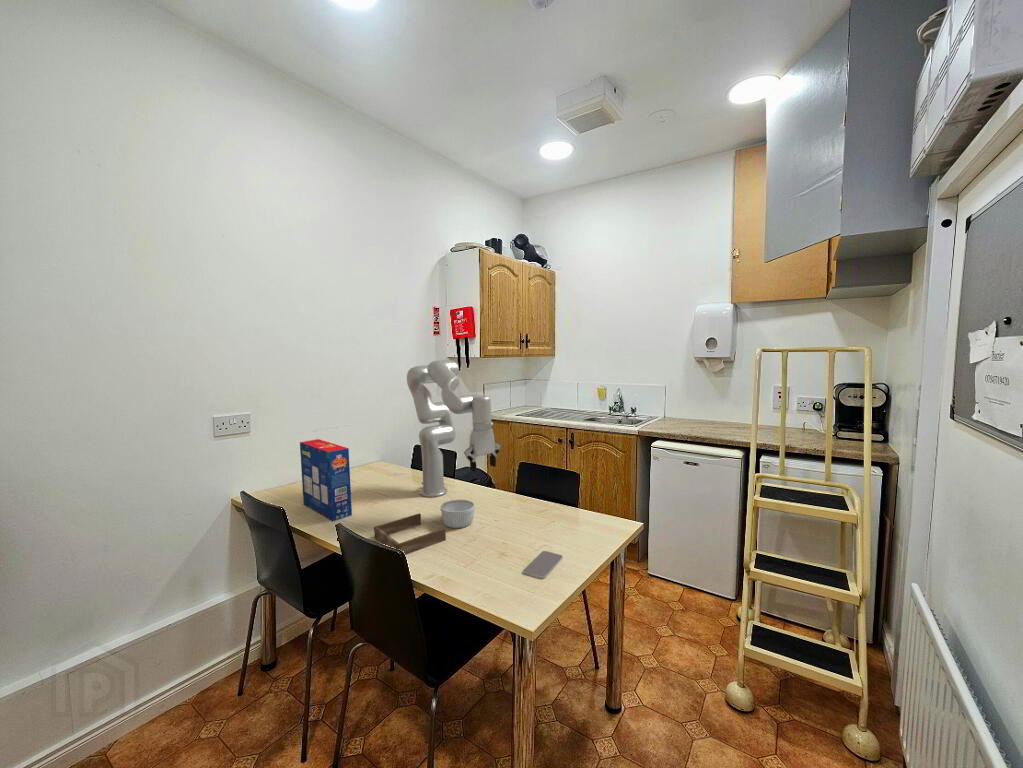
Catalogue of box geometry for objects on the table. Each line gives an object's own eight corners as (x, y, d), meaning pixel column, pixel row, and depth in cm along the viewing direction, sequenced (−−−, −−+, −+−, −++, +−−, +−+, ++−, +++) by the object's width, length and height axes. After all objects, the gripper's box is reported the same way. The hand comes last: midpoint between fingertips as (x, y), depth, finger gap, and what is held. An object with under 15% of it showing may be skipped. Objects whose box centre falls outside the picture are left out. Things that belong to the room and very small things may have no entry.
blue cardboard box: (351, 515, 169) (348, 448, 166) (332, 521, 163) (328, 452, 160) (321, 499, 187) (318, 439, 185) (303, 504, 181) (299, 442, 179)
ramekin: (459, 513, 169) (458, 496, 169) (482, 521, 161) (482, 503, 160) (433, 524, 159) (433, 506, 158) (457, 533, 151) (456, 514, 150)
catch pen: (374, 537, 148) (374, 526, 148) (419, 523, 160) (419, 513, 159) (398, 557, 134) (397, 545, 133) (445, 539, 145) (445, 529, 145)
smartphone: (564, 555, 132) (543, 577, 119) (564, 558, 132) (544, 580, 119) (543, 550, 136) (521, 571, 123) (543, 552, 136) (521, 574, 123)
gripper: (493, 422, 174) (494, 462, 175) (458, 428, 163) (460, 471, 164) (504, 424, 168) (505, 466, 169) (469, 430, 157) (470, 475, 158)
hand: (483, 468), depth 167 cm, fingers open, 9 cm apart
